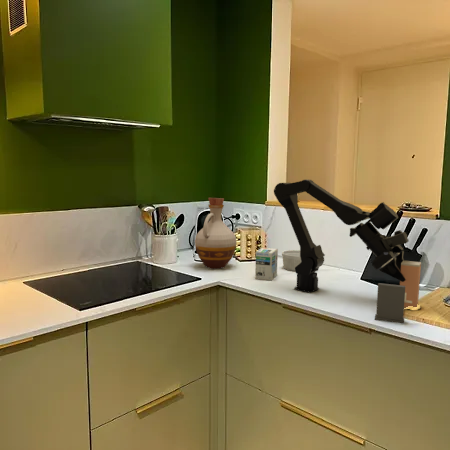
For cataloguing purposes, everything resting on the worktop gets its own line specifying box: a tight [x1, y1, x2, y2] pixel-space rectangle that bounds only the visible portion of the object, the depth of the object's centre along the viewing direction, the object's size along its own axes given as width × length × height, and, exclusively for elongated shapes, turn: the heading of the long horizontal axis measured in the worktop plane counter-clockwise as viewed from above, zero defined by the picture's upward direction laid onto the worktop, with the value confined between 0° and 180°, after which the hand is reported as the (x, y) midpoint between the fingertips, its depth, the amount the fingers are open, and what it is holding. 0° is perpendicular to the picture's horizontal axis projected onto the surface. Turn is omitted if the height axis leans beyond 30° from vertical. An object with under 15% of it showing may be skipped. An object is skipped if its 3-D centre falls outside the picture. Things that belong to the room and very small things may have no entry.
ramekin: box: [281, 249, 301, 272], centre depth 179 cm, size 13×13×7 cm
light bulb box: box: [254, 247, 279, 281], centre depth 164 cm, size 11×7×11 cm, turn 161°
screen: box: [374, 282, 405, 325], centre depth 116 cm, size 8×3×10 cm, turn 67°
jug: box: [194, 197, 237, 270], centre depth 178 cm, size 20×18×30 cm
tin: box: [399, 259, 422, 307], centre depth 128 cm, size 5×5×13 cm
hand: (407, 277), depth 128 cm, fingers open, 9 cm apart
